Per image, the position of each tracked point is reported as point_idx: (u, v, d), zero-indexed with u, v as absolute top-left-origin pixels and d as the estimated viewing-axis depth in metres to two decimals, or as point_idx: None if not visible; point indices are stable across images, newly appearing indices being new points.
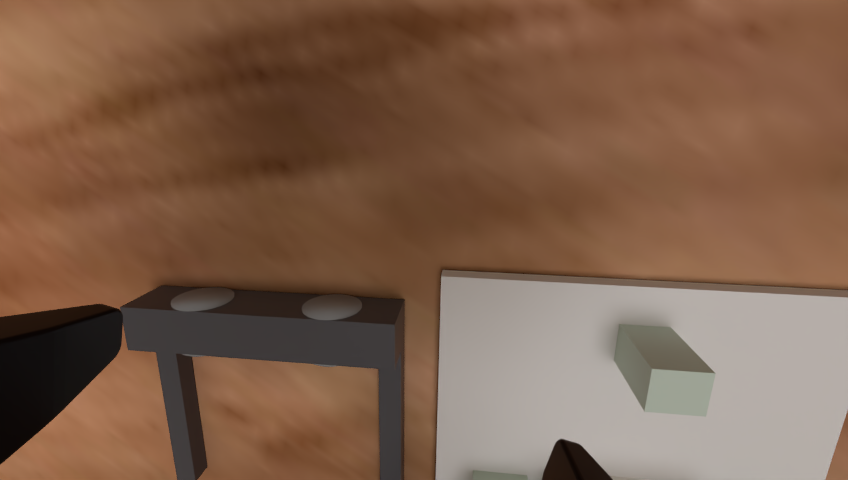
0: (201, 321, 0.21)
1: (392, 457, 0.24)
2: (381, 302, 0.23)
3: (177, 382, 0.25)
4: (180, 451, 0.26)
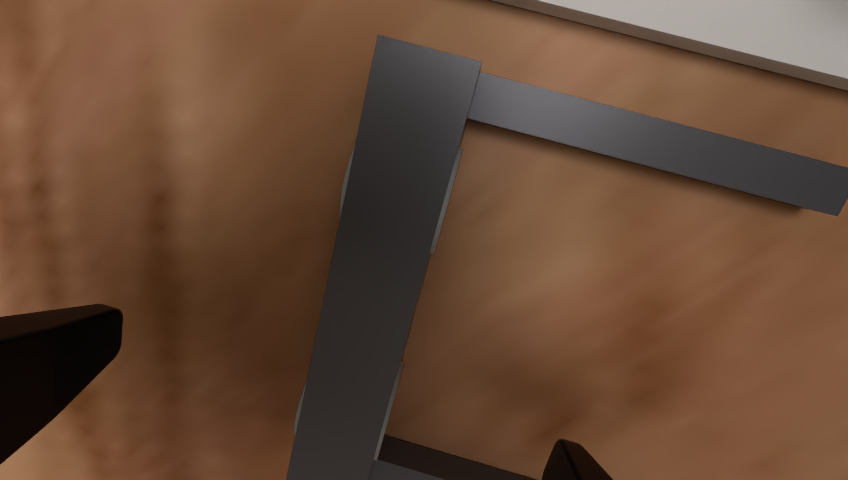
0: (320, 400, 0.12)
1: (729, 156, 0.11)
2: None
3: None
4: None
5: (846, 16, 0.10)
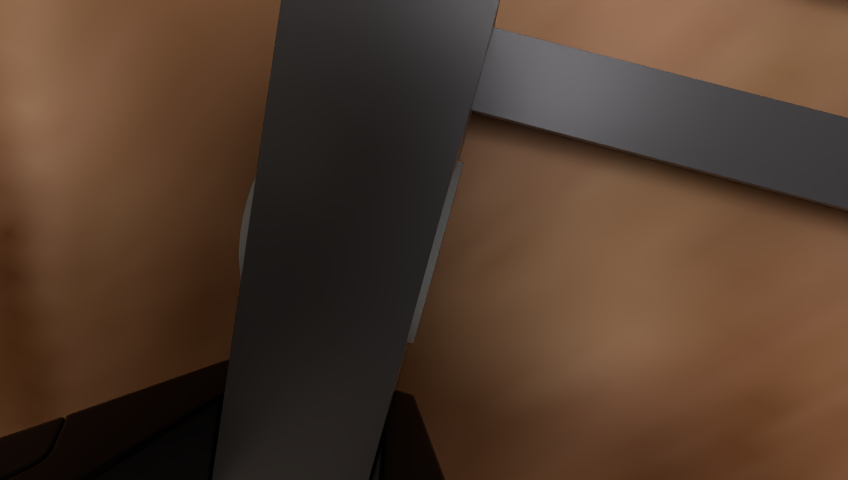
0: None
1: None
2: None
3: None
4: None
5: None
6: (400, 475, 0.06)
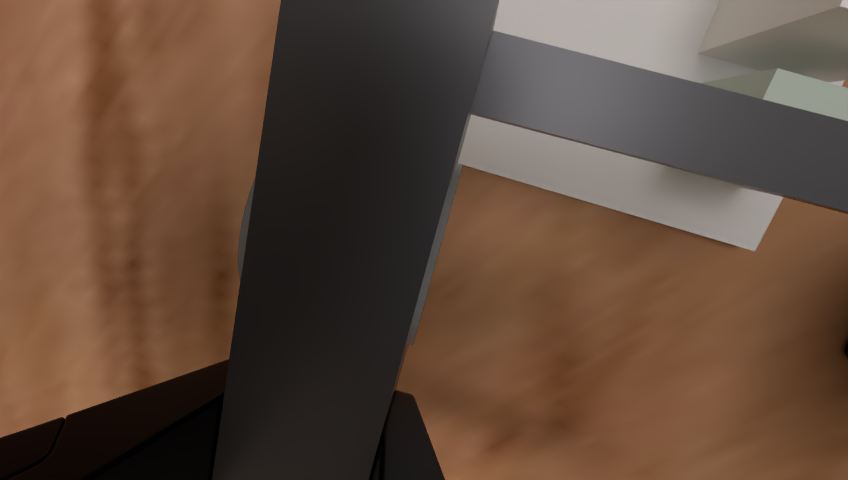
0: None
1: None
2: None
3: None
4: None
5: (674, 192, 0.16)
6: (400, 475, 0.06)
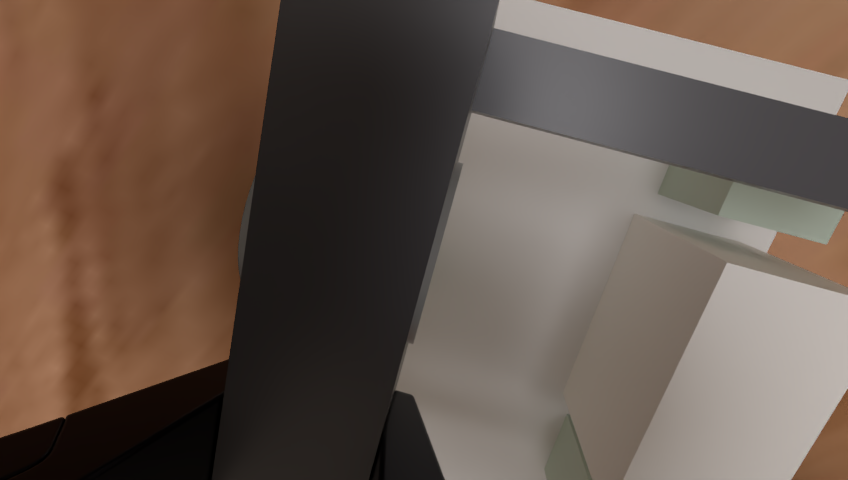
0: None
1: None
2: None
3: None
4: None
5: None
6: (400, 475, 0.06)
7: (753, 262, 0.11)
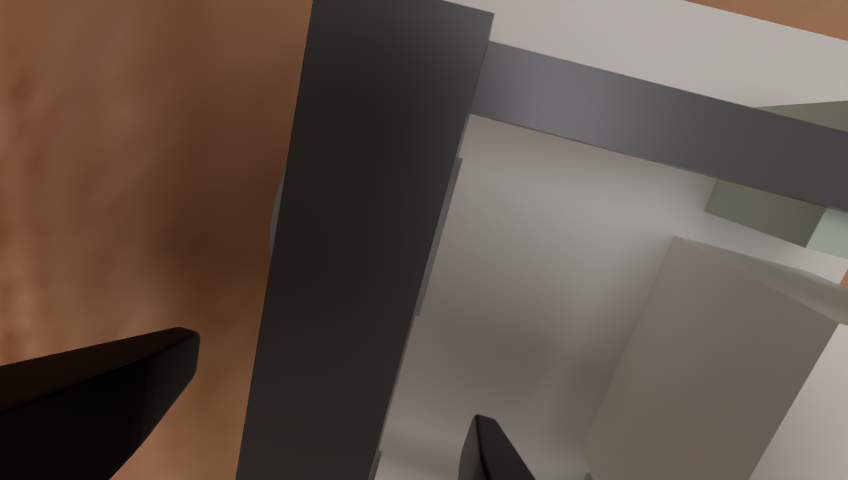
0: None
1: None
2: None
3: None
4: None
5: None
6: None
7: None
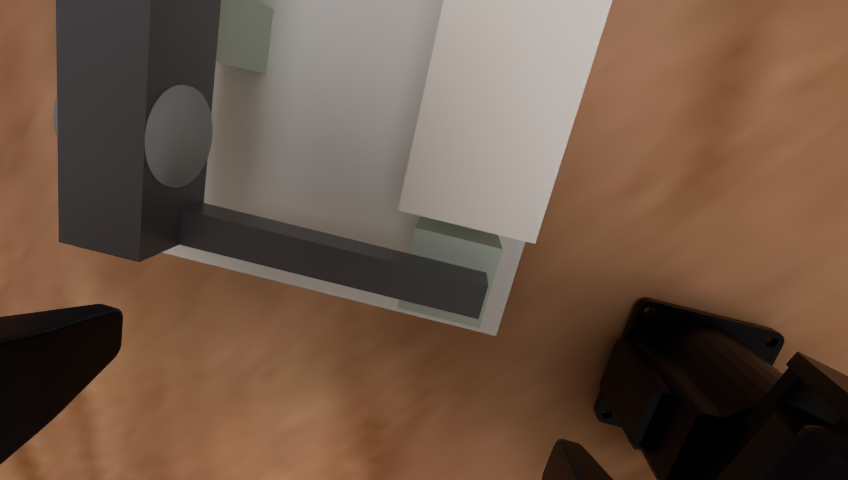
0: (75, 91, 0.11)
1: None
2: None
3: (273, 238, 0.14)
4: (416, 288, 0.14)
5: None
6: None
7: None
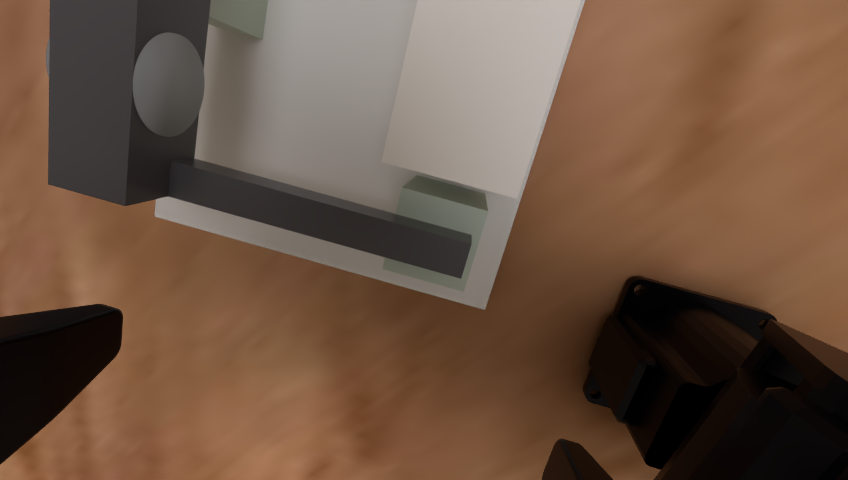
0: (67, 32, 0.11)
1: None
2: None
3: (259, 191, 0.14)
4: (400, 245, 0.14)
5: None
6: None
7: None
